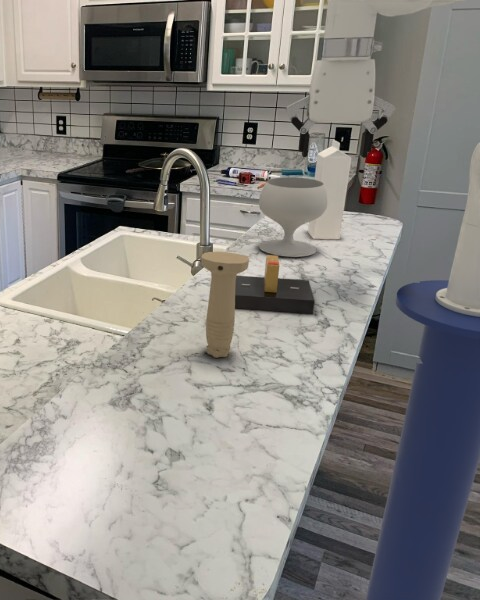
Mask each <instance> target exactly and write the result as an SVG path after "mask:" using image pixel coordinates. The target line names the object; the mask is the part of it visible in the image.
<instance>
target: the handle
mask: <svg viewBox="0 0 480 600" xmlns="http://www.w3.org/2000/svg"><path fill="white" fill-rule="evenodd" d="M200 263H201V266H202V267H203V268H204V269H206V270H207V271H209V272H210V273H211V274H210V278H211V279H210V286H209V287H210V288H209V296H208V303H207V310H206V322H205V339H206V343H207V345H206V353H207V355H210V356H212V357H213V358H216V359H218V358H226V357H228V354H229V353H230V350H231V343H232V341H233V337H234V330H235V319H236V308H235V282H236V276H238V274H240V273H243V272H245V271H246V270H248V268H249V265H250V258H249V257H248V256H247V255H244V254H240V253H236V252H229V251H207V252H204V253H203V254H201V262H200Z"/></svg>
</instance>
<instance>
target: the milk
mask: <svg viewBox="0 0 480 600" xmlns="http://www.w3.org/2000/svg"><path fill="white" fill-rule="evenodd" d="M340 147H341V143H340V142H339V141H337V140H335V139H332V141H331V146H329V147H327V148H325V149H324V150H323V149H322V150H321V151H320V152H318V153H317V155H316V156H317V157H316V165H315V171H314V179H313V180H317V181H320V182H322V183H323V184H324V186H325V188H326V192H327V208H326V210H325V212H324V213H323V214H322V215H321V216H320V217H319V218H317V219H315V220H313V221H310V222H308V227H307V233H308V234H309V235H310V237H311V238H312V239H313V240H340V238H341V232H342V225H343V220H344V219H343V218H344V211H345V205H346V198H347V191H348V186H349V185H348V184H349V178H350V170H351V164H352V157H351V156H349V155H348V154H346V153H345V152H343V151H342V150H340Z"/></svg>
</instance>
